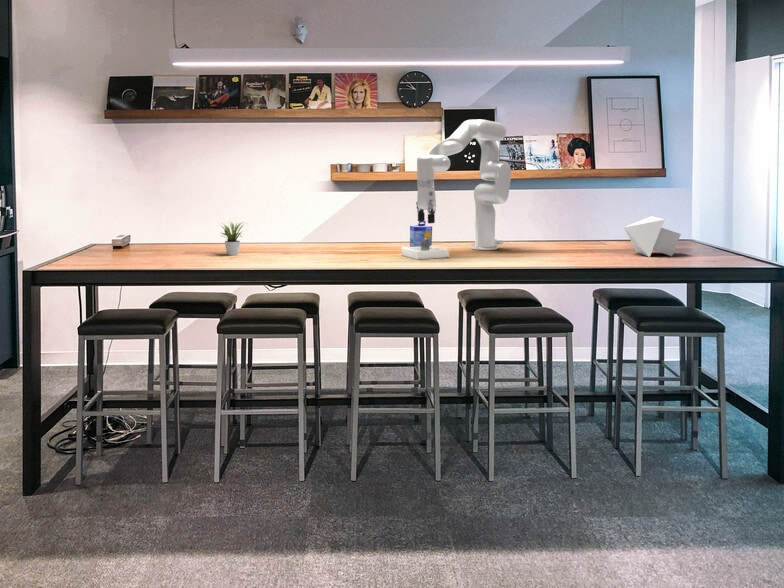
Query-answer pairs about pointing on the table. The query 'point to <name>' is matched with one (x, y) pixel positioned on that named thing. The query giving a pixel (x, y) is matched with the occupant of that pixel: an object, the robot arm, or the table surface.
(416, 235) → the ink cartridge box
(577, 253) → the table surface
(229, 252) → the house plant
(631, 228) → the pyramid on cube
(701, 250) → the table surface
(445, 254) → the flat white box
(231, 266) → the table surface
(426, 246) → the battery cell
